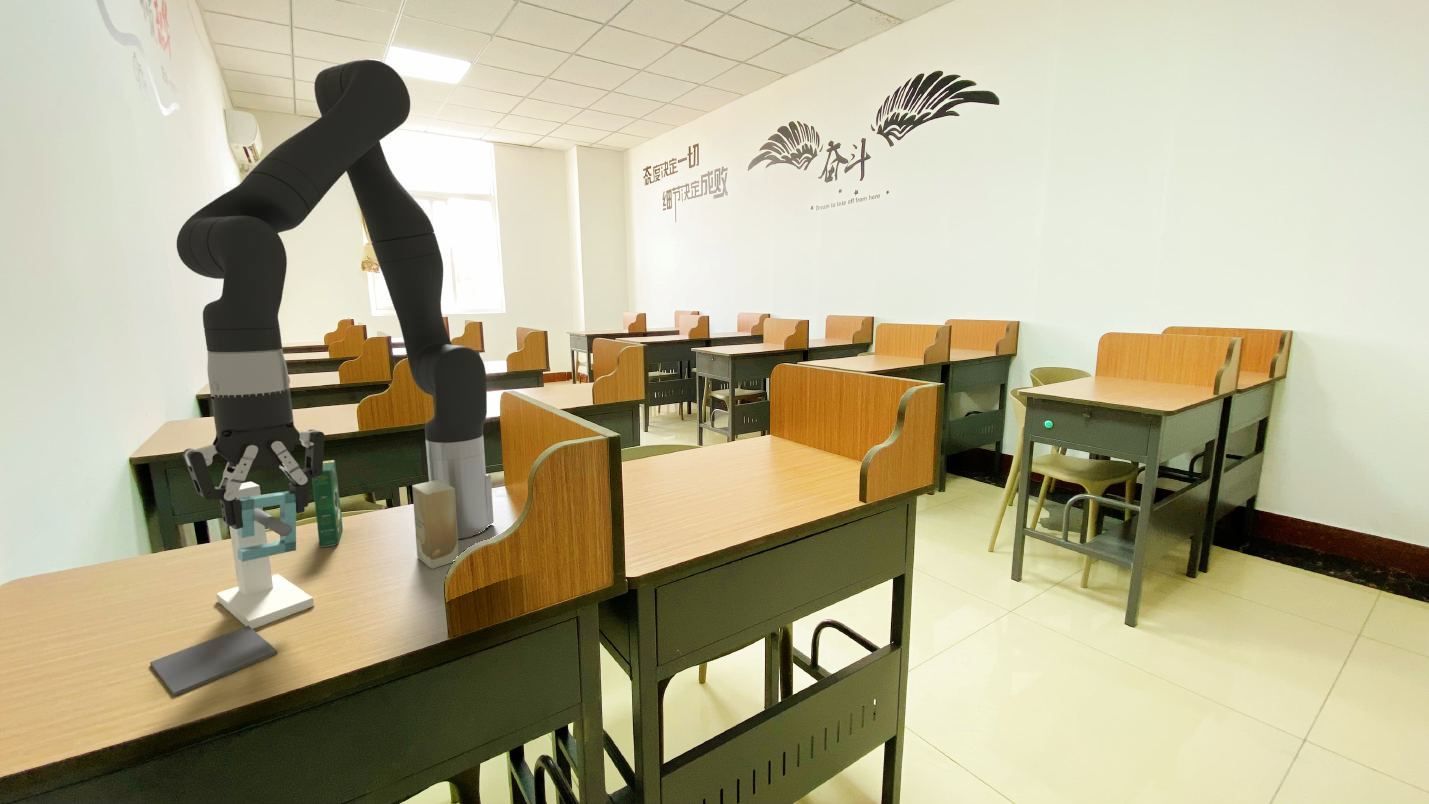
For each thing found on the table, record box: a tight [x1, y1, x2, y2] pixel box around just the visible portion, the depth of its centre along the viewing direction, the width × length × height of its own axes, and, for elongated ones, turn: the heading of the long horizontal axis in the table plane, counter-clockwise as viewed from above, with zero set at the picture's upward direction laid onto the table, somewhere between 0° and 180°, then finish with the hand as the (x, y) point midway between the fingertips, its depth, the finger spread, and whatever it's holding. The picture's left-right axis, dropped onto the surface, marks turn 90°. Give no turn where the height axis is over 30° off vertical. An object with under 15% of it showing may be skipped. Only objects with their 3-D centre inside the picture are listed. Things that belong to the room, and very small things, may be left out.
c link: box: [237, 490, 297, 562], centre depth 72 cm, size 6×2×8 cm, turn 145°
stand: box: [216, 481, 315, 630], centre depth 75 cm, size 7×16×16 cm, turn 55°
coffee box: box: [311, 459, 343, 548], centre depth 98 cm, size 8×3×13 cm, turn 28°
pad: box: [149, 626, 278, 697], centre depth 66 cm, size 9×9×1 cm
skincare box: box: [411, 480, 460, 570], centre depth 90 cm, size 6×4×12 cm
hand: (268, 518), depth 72 cm, fingers closed on c link, 6 cm apart
